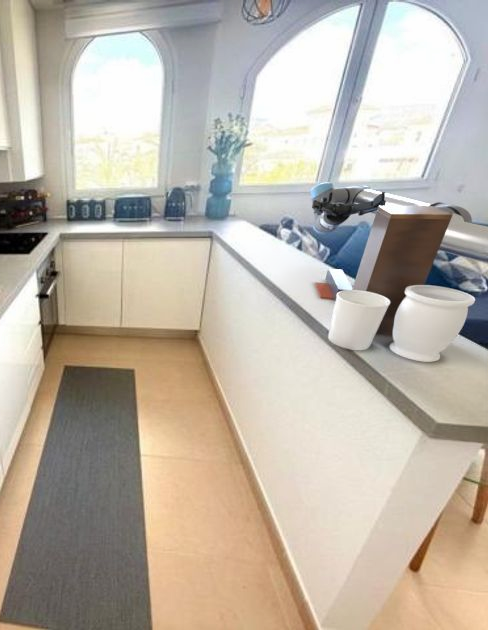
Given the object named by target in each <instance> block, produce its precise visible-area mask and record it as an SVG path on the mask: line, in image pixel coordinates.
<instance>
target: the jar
mask: <svg viewBox="0 0 488 630" xmlns="http://www.w3.org/2000/svg"><path fill="white" fill-rule="evenodd" d="M405 295H406V297H405V298H404V299H403V301H402V302H401V304H400V305H399V307H398V309H397V312H396V315H395V319H394V327H393V336H392V340H393V342H391V343H390V344H389V349H390V351H392V352H393V353H394V354H396V355H398V356H399V357H400V356H401V357H402V358H405V359H409V360H411V361H417V362H422V363H423V362H424V363H431V362H433V363H434V362H437V361H439V360H440V358H441V354H440V353H441V352H443V351H444V350H446V349H447V348H448V347H449V346H450V345H451V344H452V342H453V341H454V339H455V338H456V337H457V336H458V334H459V333H460V332H461V330H462V329H463V327H464V325H465V322H466V320H467V317H468V312H469V307H471V306H473V305H474V304H475V302H476V298H475V297H474V296H473V295H472V294H470V293H467V292H464V291H462V290H458V289H456V288H455V289H454V288H450V287H446V286H440V285H439V286H438V285H430V284H424V285H413V286H409V287H406V289H405Z"/></svg>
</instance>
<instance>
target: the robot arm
mask: <svg viewBox="0 0 488 630" xmlns="http://www.w3.org/2000/svg"><path fill="white" fill-rule="evenodd" d="M310 200H311V208H312V209H313V216H314V217H313V218H314V222H313V231H315V233H316V234H319V235H327V234H330V233H332V232H334V231H335V230H336V229H337V228H338V227H340V225H342V224H343V223H345V222H346V221H347V220H348V219H349V218H350V216H351V215H356V214H358V216H359V217H362V216H364V215H366V214H369V213H371V214H373V215H376V212H377V209H378V206H433V207H436V208H438V209H441V210H443V211H445V212H448V213H450V214H453V216H452V218H451V220H450V223H449V225H448V228H447V230H446V233H445V235H444V238H443V240H442V242H441V245H440V247H439V250H438V252H437V254H440V253H441V252H444V253H447V254H451V255H454V256H459V257H460V258H461V257H462V258H465V259H469V260H472V261H477V262H479V263H483V264H486V265H488V226H486V225H481V224H477V223H472V222H473V218H472V215H471V214H470V211H468V210H467V209H465V208H464V207H462V206H459V205H455V204H449V203H445V202H440V201H436V202H432V203H428V202H425V201H420V200H417V199H416V200H415V199H412V198H407V197H403V196H398V195H394V194H390V193H387V192H386V191H382V192H381V191H376V190H373V189H372V188H371V187H370V186H368V185H355V186H345V187H335V186H334V184H333V183H332V182H330V181H328V182H322V183H319V184H317V185H314V186H313V187H312V188H311V189H310Z"/></svg>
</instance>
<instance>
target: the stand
mask: <svg viewBox="0 0 488 630" xmlns="http://www.w3.org/2000/svg"><path fill="white" fill-rule="evenodd" d="M374 215H375V216H374V218H373V222H372V224H371V228H370V231H369V235H368V238H367V241H366V244H365V247H364V250H363V255H362V257H361V259H360V260H361V261H360V264H359V267H358V270H357V273H356V276H355V279H354V282H353V285H352V287H353V289H352V290H360V291H367V292H372V293H376V294H379V295H382V296H384V297H386V298H388V299H389V300H390V305H389V306H388V308H387V311H386V313H385V315H384V317H383V319H382V321H381V324H380V326H379V328H378V330H377V332H376V334H375V335H381V336H390V337H393V327H394V319H395V315H396V312H397V309H398V307H399V305H400V304H401V302H402V301H403V299H404V298H405V297H406V295H405V289H406V287H409V286H413V285H426V282H427V279H428V276H429V274H430V272H431V269H432V267H433V265H434V262H435V259H436V257H437V255H438V253H437V252H438V250H439V247H440V245H441V242H442V240H443V238H444V235H445V233H446V230H447V228H448V225H449V223H450V220H451V218H452V216H453V214H450V213H448V212H445V211H443V210H441V209H438V208H436V207H433V206H378V209H377V212H376V214H374Z"/></svg>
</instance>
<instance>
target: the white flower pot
mask: <svg viewBox="0 0 488 630" xmlns="http://www.w3.org/2000/svg"><path fill="white" fill-rule="evenodd" d="M389 305H390V300H389V299H388V298H386V297H384V296H382V295H379V294H376V293H372V292H367V291H360V290H344V291H340V292H338V293H337V295H336V301H335V300H334V306H333V307H334V308H333V311H332V316H331V320H330V325H329V330H328V333H327V334H328V335H327V339H328V341H329V342H330V343H332V344H333V345H335V346H338V347H339V348H341V349H342V348H343V349H345V350H346V349H347V350H351V351H366V350H368V349H369V348H370V347H371V345H372V343H373V341H374V340H375V339H374V338H375V336H376V335H377V334H376V332H377V330H378V328H379V326H380V324H381V321H382V319H383V317H384V315H385V313H386V311H387V308H388V306H389Z"/></svg>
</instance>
